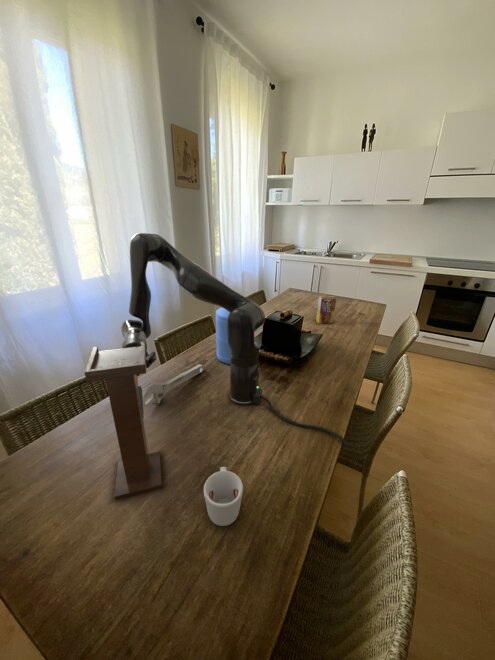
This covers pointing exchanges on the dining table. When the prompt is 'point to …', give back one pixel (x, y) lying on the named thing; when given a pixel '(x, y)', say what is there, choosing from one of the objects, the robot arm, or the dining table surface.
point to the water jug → (222, 336)
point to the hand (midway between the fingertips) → (132, 373)
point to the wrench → (168, 385)
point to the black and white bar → (140, 396)
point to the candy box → (326, 309)
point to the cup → (223, 496)
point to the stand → (127, 417)
